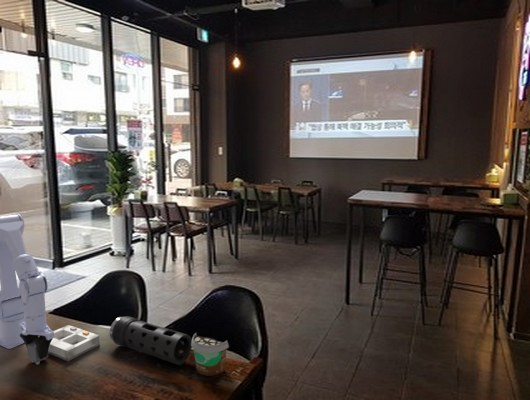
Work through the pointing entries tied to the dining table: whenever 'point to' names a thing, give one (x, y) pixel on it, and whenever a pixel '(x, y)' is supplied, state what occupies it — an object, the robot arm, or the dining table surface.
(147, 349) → the muzzle brake
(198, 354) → the food container
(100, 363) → the dining table surface
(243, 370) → the dining table surface
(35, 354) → the plug
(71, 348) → the double socket
